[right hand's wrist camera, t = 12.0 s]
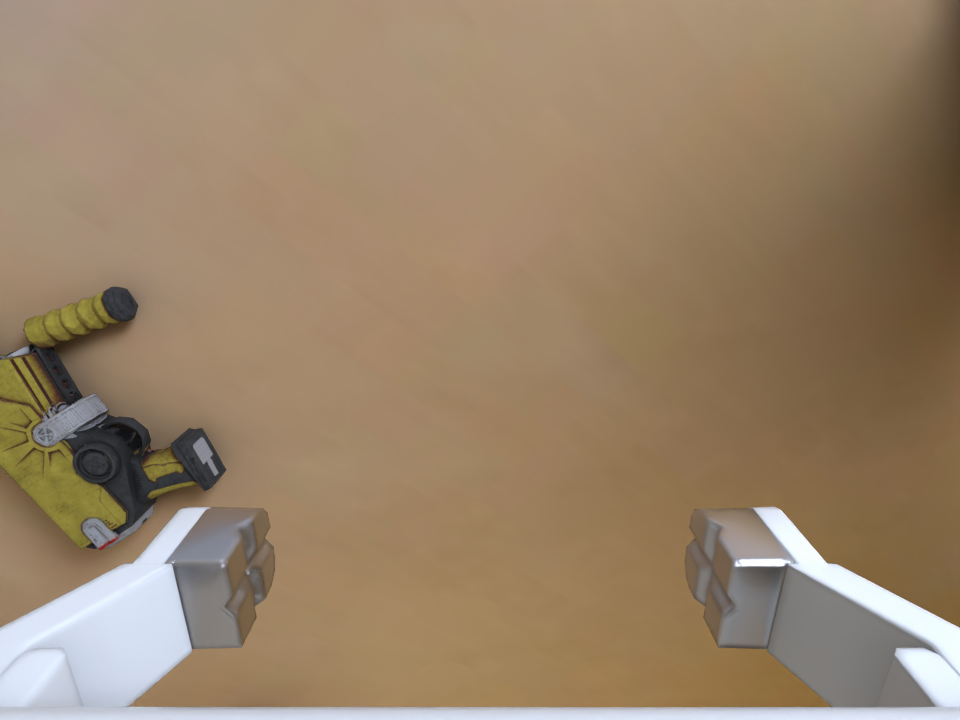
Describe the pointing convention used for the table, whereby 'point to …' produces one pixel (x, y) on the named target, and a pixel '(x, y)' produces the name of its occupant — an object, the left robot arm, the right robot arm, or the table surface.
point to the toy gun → (87, 435)
